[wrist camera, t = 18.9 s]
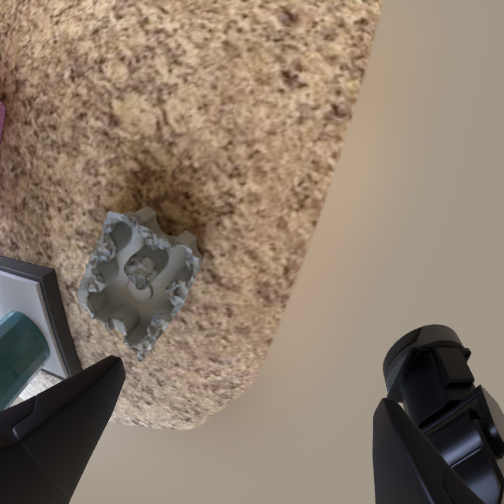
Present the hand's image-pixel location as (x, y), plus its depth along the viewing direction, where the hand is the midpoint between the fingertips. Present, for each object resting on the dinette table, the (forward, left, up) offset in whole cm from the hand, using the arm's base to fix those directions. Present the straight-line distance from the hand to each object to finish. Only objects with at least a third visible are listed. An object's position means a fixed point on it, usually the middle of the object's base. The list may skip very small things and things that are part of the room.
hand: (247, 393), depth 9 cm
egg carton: (-4, +10, -13) cm, 17 cm away
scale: (-12, +30, -13) cm, 35 cm away
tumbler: (-13, +25, -10) cm, 30 cm away
